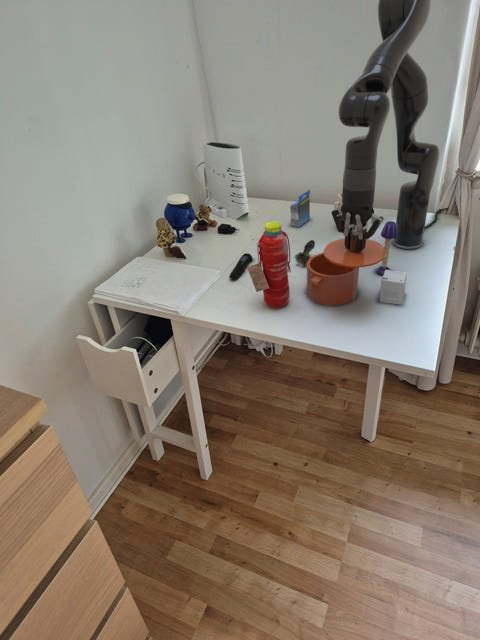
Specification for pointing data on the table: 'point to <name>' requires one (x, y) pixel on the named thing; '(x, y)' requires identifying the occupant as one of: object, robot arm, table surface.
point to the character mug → (340, 204)
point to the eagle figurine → (306, 252)
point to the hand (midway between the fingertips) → (354, 249)
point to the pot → (330, 281)
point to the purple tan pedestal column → (387, 244)
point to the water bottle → (272, 266)
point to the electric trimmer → (240, 265)
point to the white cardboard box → (393, 287)
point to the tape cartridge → (300, 210)
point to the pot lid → (354, 252)
